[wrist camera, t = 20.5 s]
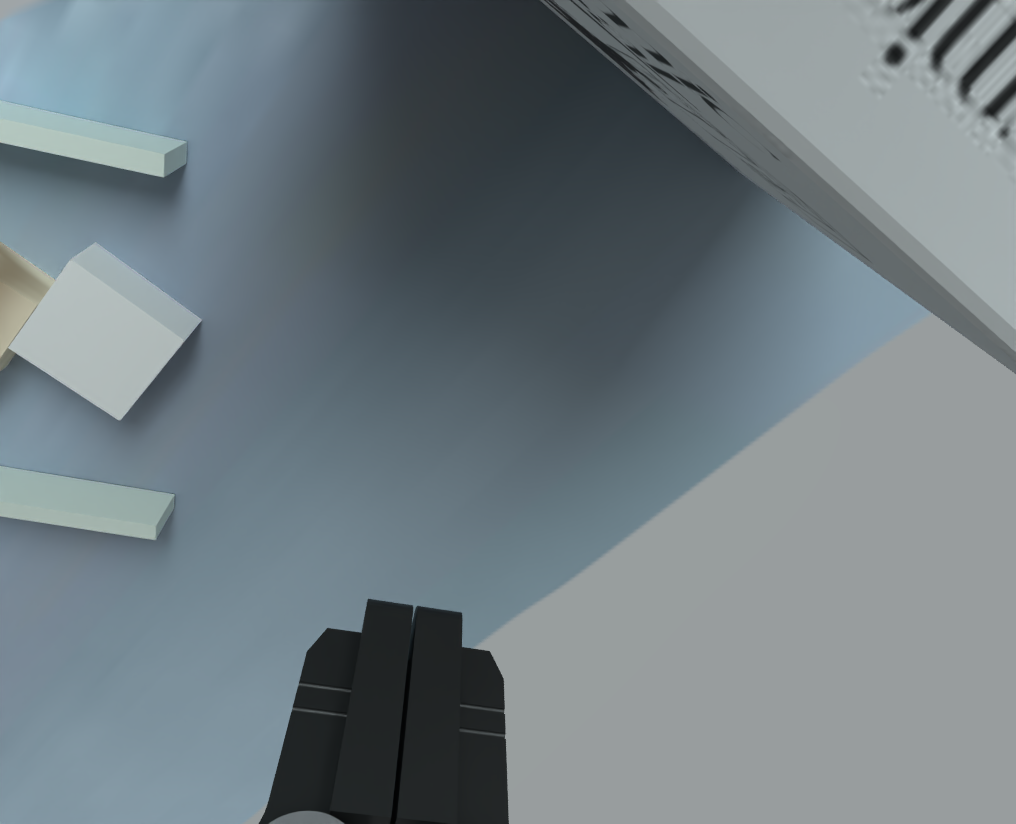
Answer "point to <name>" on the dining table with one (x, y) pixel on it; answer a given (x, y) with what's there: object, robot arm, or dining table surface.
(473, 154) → the dining table surface
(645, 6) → the cereal box
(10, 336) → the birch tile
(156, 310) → the pale grey tile
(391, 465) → the dining table surface
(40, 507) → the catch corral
